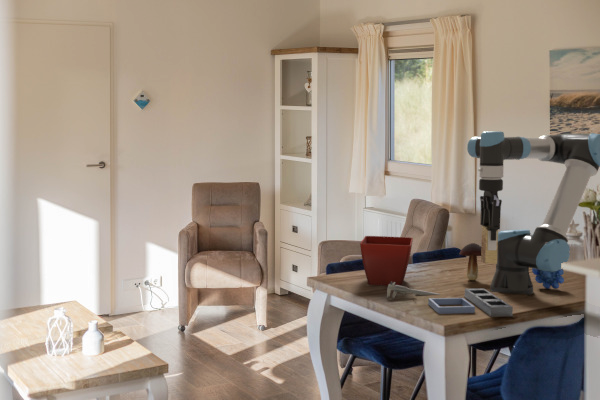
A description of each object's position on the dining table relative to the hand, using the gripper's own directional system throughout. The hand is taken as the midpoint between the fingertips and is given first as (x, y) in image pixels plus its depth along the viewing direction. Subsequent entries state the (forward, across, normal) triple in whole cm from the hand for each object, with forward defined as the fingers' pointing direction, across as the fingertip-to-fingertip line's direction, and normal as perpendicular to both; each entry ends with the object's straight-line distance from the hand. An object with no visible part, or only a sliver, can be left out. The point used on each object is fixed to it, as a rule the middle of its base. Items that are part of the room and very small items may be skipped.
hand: (489, 248), depth 233 cm
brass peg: (+5, 0, 0) cm, 5 cm away
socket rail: (+20, 0, 0) cm, 20 cm away
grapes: (+21, -27, +33) cm, 47 cm away
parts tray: (+20, +2, -13) cm, 24 cm away
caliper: (+21, -18, -20) cm, 34 cm away
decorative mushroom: (+21, -44, +10) cm, 49 cm away
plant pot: (+21, -43, -25) cm, 54 cm away
